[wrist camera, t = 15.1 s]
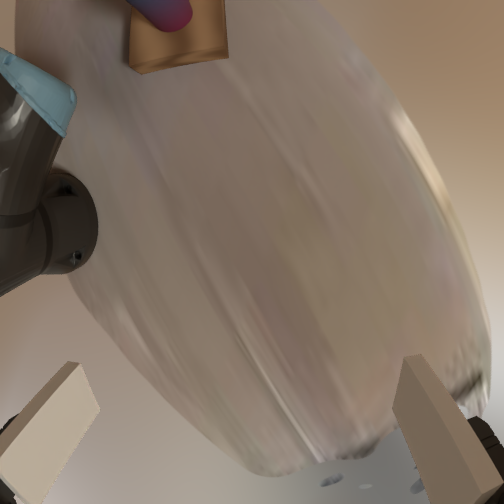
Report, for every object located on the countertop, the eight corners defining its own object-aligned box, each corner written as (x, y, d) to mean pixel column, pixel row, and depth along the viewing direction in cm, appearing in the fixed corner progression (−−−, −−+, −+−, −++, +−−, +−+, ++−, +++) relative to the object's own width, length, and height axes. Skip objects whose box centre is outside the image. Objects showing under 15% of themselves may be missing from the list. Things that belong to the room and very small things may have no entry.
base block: (141, 74, 33) (129, 66, 30) (142, 8, 31) (132, -4, 27) (228, 58, 33) (224, 46, 29) (223, -9, 30) (219, -24, 26)
